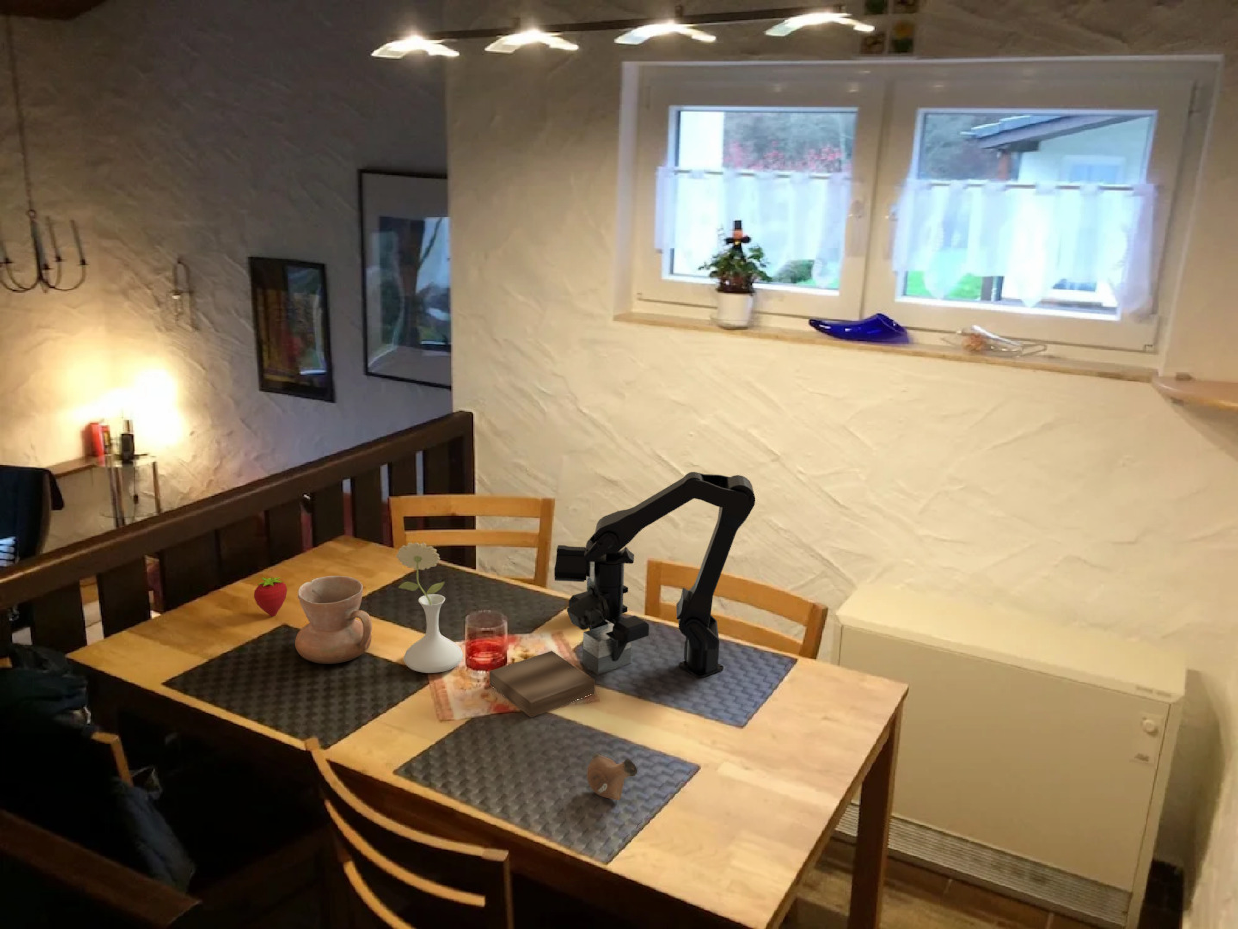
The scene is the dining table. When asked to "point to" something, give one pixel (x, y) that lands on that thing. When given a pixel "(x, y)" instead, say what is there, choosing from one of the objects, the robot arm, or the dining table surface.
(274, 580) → the strawberry
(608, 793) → the oil lamp
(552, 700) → the stand
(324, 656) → the ceramic jug
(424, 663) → the flower in vase
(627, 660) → the housing
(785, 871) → the dining table surface
